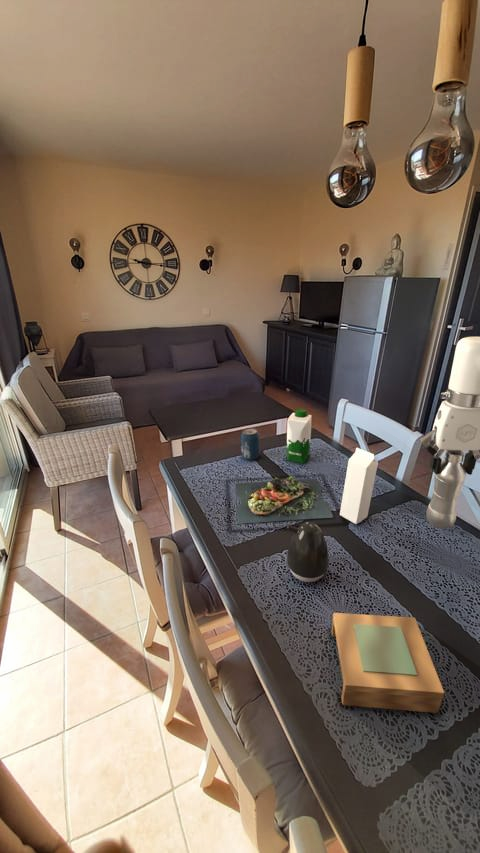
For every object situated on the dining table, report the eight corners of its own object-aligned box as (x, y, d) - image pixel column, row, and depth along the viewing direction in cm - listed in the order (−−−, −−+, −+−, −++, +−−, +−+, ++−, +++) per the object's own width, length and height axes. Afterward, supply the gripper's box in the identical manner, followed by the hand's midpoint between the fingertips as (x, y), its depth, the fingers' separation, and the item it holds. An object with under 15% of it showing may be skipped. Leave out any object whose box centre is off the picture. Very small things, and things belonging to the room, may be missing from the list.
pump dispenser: (286, 556, 96) (287, 509, 90) (326, 559, 95) (330, 512, 89) (284, 586, 87) (285, 537, 81) (328, 591, 86) (333, 541, 79)
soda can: (258, 453, 150) (257, 426, 145) (259, 461, 143) (259, 434, 138) (241, 454, 149) (240, 427, 144) (242, 462, 143) (241, 435, 138)
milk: (356, 524, 106) (368, 457, 98) (339, 515, 111) (349, 449, 103) (367, 517, 110) (380, 452, 102) (350, 508, 114) (362, 444, 106)
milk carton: (311, 455, 147) (313, 409, 138) (305, 466, 139) (308, 418, 131) (290, 451, 150) (291, 407, 142) (283, 462, 142) (285, 415, 134)
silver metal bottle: (454, 519, 90) (472, 448, 82) (453, 536, 85) (471, 461, 77) (426, 512, 93) (440, 442, 85) (423, 527, 88) (437, 455, 80)
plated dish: (230, 533, 105) (229, 513, 102) (226, 482, 131) (225, 464, 128) (347, 526, 107) (350, 505, 104) (320, 477, 133) (322, 459, 130)
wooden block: (410, 637, 74) (415, 616, 72) (437, 714, 62) (444, 692, 59) (331, 632, 76) (333, 611, 74) (342, 706, 63) (345, 684, 61)
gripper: (430, 404, 73) (416, 479, 80) (522, 403, 71) (499, 480, 79) (417, 392, 80) (406, 463, 87) (500, 391, 78) (482, 463, 85)
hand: (450, 470), depth 83 cm, fingers closed on silver metal bottle, 6 cm apart
